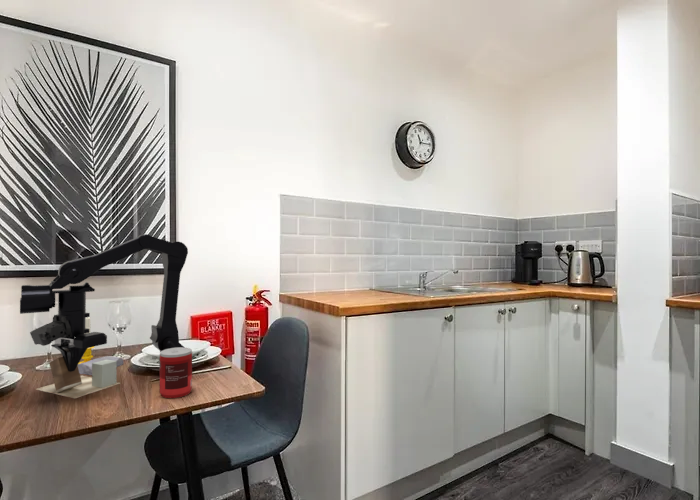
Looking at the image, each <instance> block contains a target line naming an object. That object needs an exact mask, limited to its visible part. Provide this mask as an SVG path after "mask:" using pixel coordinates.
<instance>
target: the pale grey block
mask: <svg viewBox="0 0 700 500" xmlns="http://www.w3.org/2000/svg"><path fill="white" fill-rule="evenodd" d="M116 363H117V361H113V360H107V359H106V360H103V361H99V362H95V363H92V375H91V377H92V386H96V387H100V388H103V387H106V386H109V385H112V384H115V383H116V382H117V367H116Z"/></svg>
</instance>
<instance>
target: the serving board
mask: <svg viewBox="0 0 700 500" xmlns="http://www.w3.org/2000/svg"><path fill="white" fill-rule="evenodd" d="M80 377H81V381H82V384H81V385H78V386H76V387H74V388H71V389H68V390H64V391H61V392H58V393H56V389H55V385H54V383H52V384H48V385H43V386H42V387H38V388H35V390H37V391H41V392H44V393H48V394H49V393H50V394H54V395H59V396H63V397H67V398H71V399H77V398H80V397H83V396H84V397H85V396H86V395H89V394H92V393H96V392H99V391H101V390H105V389H108V388H111V387H114V386H116V385H119V384H121V382H117V381H116V383H115V384H112V385H109V386H106V387H103V388H100V387H96V386H92V376H88V375H87V376H86V375H80Z"/></svg>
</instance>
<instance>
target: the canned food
mask: <svg viewBox="0 0 700 500" xmlns="http://www.w3.org/2000/svg"><path fill="white" fill-rule="evenodd" d="M192 379H193V351H192V348H190V347H185V346H184V347H178V348H169V349H165V350H163V351H161V352H160V351H159V394H160V396H161V397H162V398H165V399H177V398H178V399H179V398H183V397H185V396H188V395H189V394H191V392H192V388H193V387H192V386H193V380H192Z"/></svg>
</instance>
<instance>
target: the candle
mask: <svg viewBox="0 0 700 500" xmlns="http://www.w3.org/2000/svg"><path fill="white" fill-rule="evenodd" d="M85 328H87V329H89V333H91V317H86V325H85ZM85 334H86V333H85ZM95 347H96V346H94V347H90V348H87V350H86V351H85V353H84V354H83V356H82V358H81V359H82V361H80V362H79V363H78V364H80V363H85V362H87V361H90V360H92V359H94V355H93V353H92V349H94V348H95Z"/></svg>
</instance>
